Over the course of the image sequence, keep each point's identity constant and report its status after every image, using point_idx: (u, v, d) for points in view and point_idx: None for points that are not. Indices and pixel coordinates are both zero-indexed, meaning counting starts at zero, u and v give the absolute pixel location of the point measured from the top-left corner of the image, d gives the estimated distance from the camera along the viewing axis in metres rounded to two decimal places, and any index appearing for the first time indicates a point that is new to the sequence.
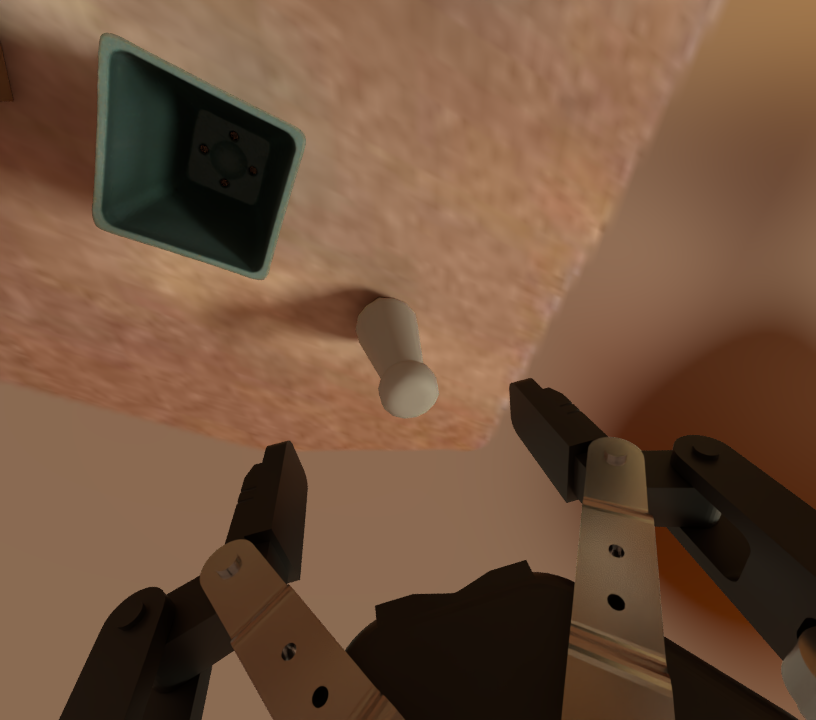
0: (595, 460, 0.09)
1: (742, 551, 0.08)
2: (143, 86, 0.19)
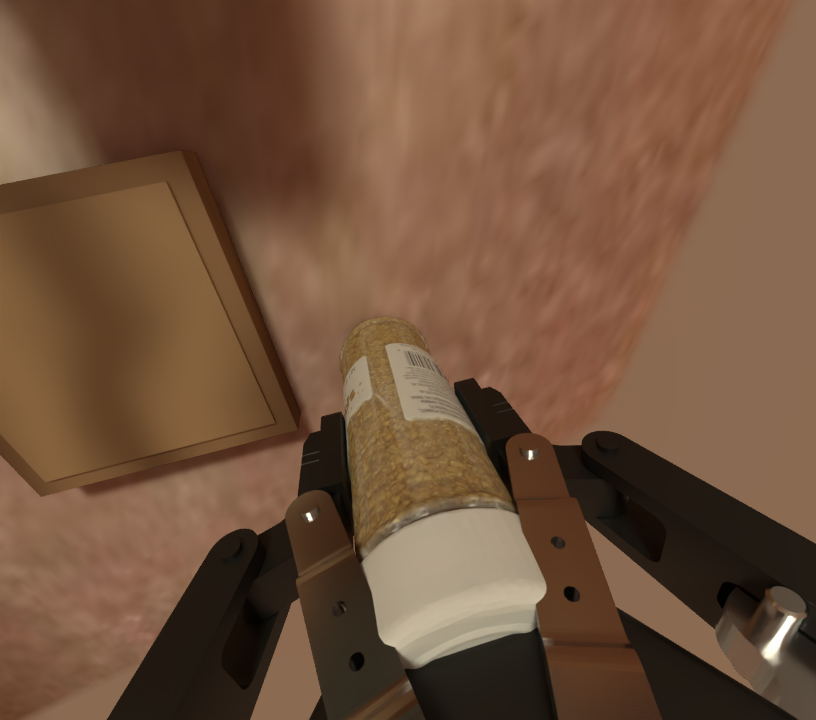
0: (509, 454, 0.09)
1: (652, 529, 0.09)
2: None
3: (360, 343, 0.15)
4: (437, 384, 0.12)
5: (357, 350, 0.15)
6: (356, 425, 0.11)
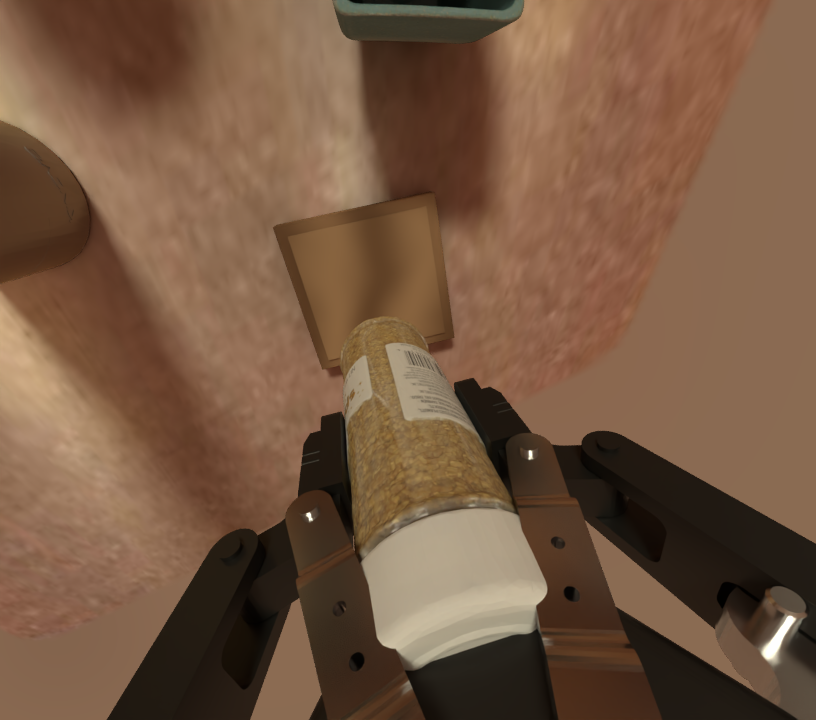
0: (509, 454, 0.09)
1: (652, 528, 0.09)
2: None
3: (361, 343, 0.15)
4: (437, 384, 0.12)
5: (357, 350, 0.15)
6: (356, 425, 0.11)
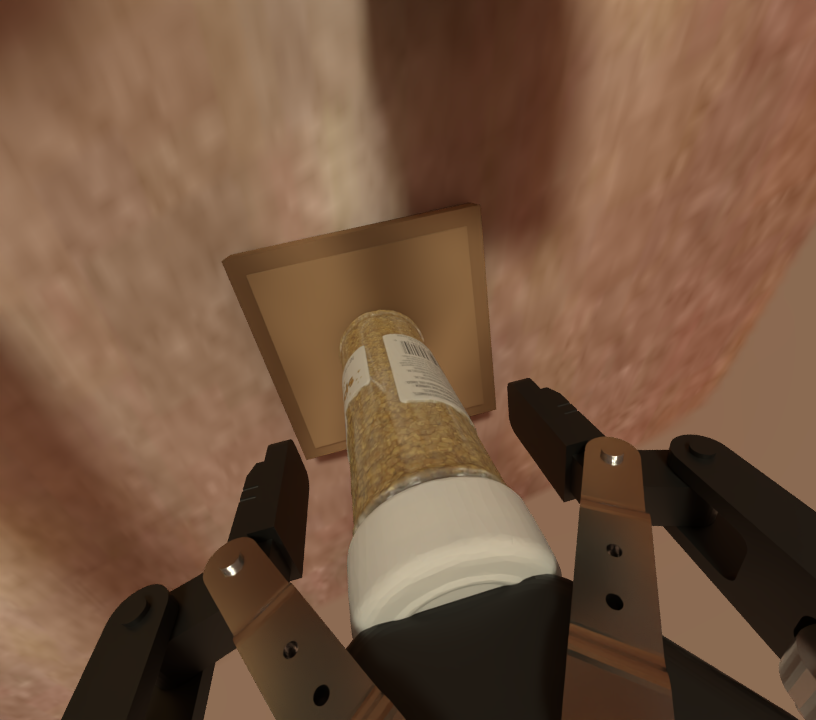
0: (592, 459, 0.09)
1: (739, 550, 0.08)
2: None
3: (359, 334, 0.16)
4: (431, 371, 0.13)
5: (355, 341, 0.16)
6: (355, 409, 0.12)
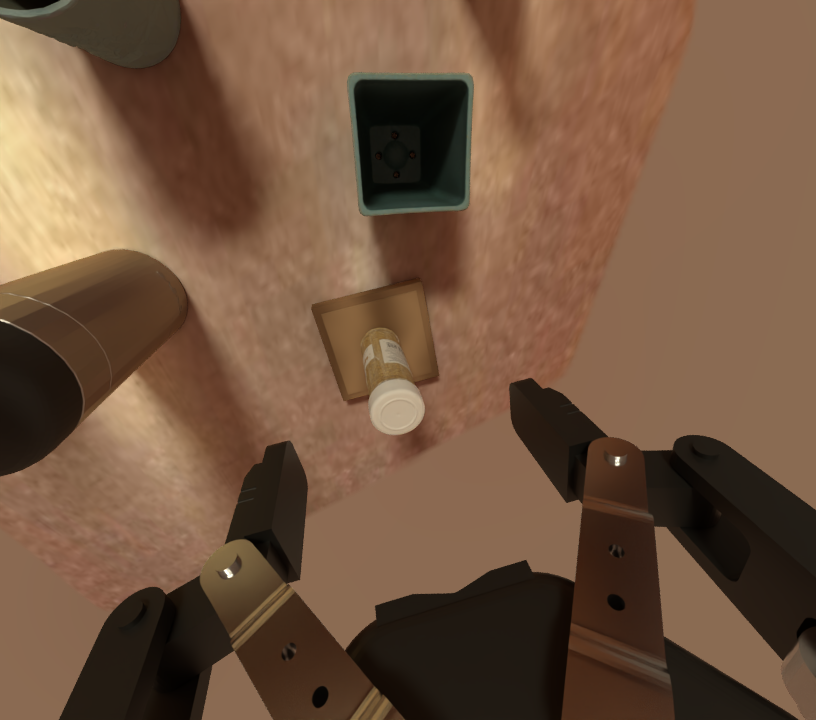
0: (595, 460, 0.09)
1: (742, 551, 0.08)
2: (377, 203, 0.30)
3: (369, 339, 0.38)
4: (397, 353, 0.34)
5: (368, 342, 0.37)
6: (369, 366, 0.33)
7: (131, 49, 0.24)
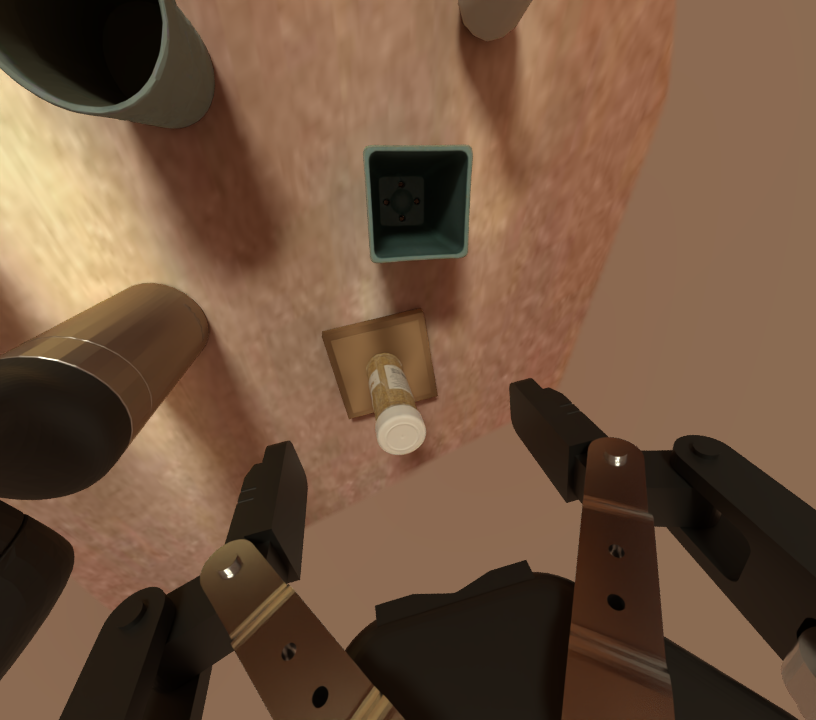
0: (595, 460, 0.09)
1: (742, 551, 0.08)
2: (385, 248, 0.34)
3: (374, 364, 0.41)
4: (400, 379, 0.38)
5: (373, 367, 0.41)
6: (375, 391, 0.37)
7: (173, 119, 0.28)
